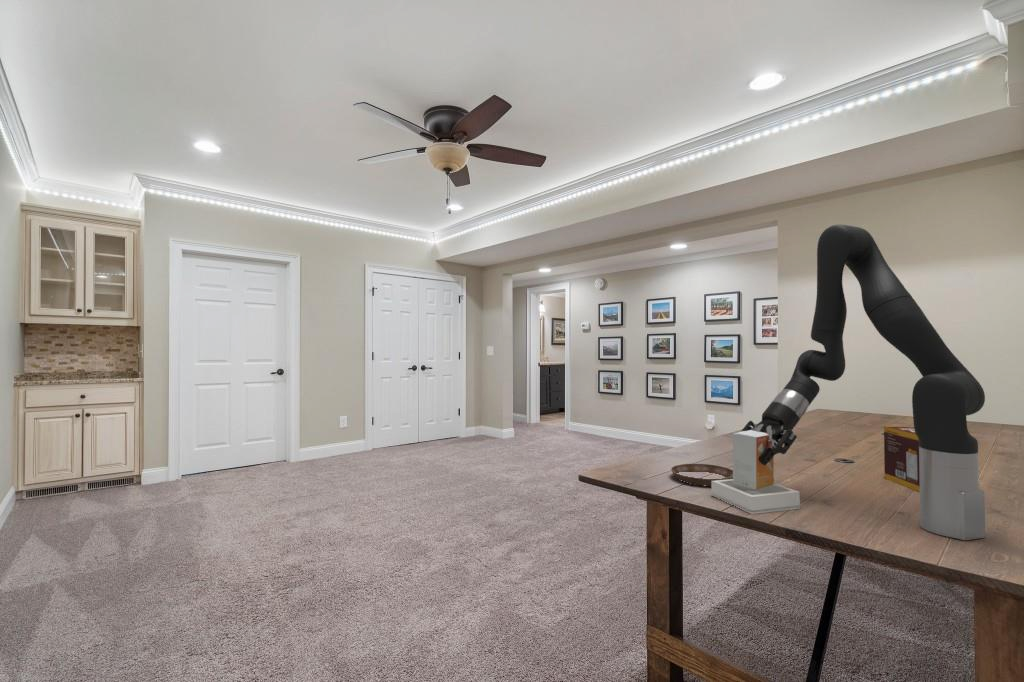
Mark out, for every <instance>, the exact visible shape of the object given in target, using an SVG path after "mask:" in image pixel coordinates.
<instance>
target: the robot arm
mask: <svg viewBox="0 0 1024 682" xmlns="http://www.w3.org/2000/svg"><path fill="white" fill-rule="evenodd" d="M816 256H817V257H816V298H815V299H816V301H815V307H814V315H813V321H812V326H811V330H810V338H811V339H812V340H813V342H815V343H816V342H817V343H819V344H821V345H822V346H823V348H824V351H821V350H815V349H809V350H805V351H803V352H801V354H800V355H799V357H798V358H797V361H796V365H795V367H794V370H793V373H792V375H791V378H790V380H789V381H788V382H787V384H786V385H784V387H783V389H782V390H781V391H780V392H778V394H776V396H775V397H774V399H773V400H772V401H771V402H770V404H769V405H768V406H767V408H766V409H765V410H764V411H763V413H762V414H761V421H759V422H758V423H754V422H753V420H749V421H748V422H747V423H746V424H745V426H744V427H743V428H742V429H741V430H740V432H742V431H748V430H752V431H758V432H764V433H767V434H768V438H767V440H768V448H766V449H765V450H764V452H763V453H762V454H761V456H760V457H759V461H760V462H761V464H763V465H766V464H767V463H769V462H770V460H771V459H772V458H773V456H774V457H775V455H778V454H781V455H785V454H786V453H787V452H788V450H789V449H790V448H791V446H792V445H793V443H794V442H795V440H796V439H797V437H798V436H797V435H796V433H795V432H794V431H793V430H794V428H795V427H796V425H798V423H799V421H800V420H801V419H802V418H803V417H804V415H805V413H807V410H808V408H809V406H810V405H811V403H812V402H813V401H814V400H815V398H816V397H817V396H818V394H819V393H820V390H821V389H820V388H821V387H820V385H819V383H817V381H815V380H814V379H812V378H817V379H821V380H825V381H831V382H834V381H837V380H839V379H840V378H841V377H842V376H843V375H844V374H845V370H846V359H845V358H846V357H845V356H846V355H845V351H844V340H843V339H844V338H843V336H844V331H845V326H846V322H847V321H846V319H847V315H848V314H847V310H848V309H847V308H848V307H847V303H846V297H845V292H844V286H843V275H844V268H845V266H846V267H848V269H849V270H850V271H851V273H852V274H853V276H854V277H855V278H856V280H857V282H858V283H859V286H860V291H861V302H862V307H863V310H864V312H865V314H866V316H867V317H868V319H869V320H870V322H871V324H872V325H873V326H874V328H875V330H876V331H877V333H879V335H880V336H881V337H882V338H883V339H884V340H886V341H887V342H888V343H889V344H890V345H892V346H893V347H894V348H895V349H896V350H898V351H899V352H900V353H901V354H902V355H904V356H905V357H906V358H908V359H909V360H910V362H912V364H914V366H915V367H916V368H917V370H918V371H919V373H920V374H921V376H922V377H921V378H919V379H918V380H917V382H916V383H915V385H914V386H913V389H912V395H911V397H912V398H911V404H912V407H911V408H912V418H913V419H912V420H913V426H914V430H915V433H916V435H917V437H918V439H919V477H920V492H919V518H920V519H919V521H920V522H919V526H920V527H921V529H924V530H925V531H928V532H929V533H933V534H936V535H939V536H944V537H947V538H954V539H958V540H961V541H971V540H977V539H983V538H984V537H985V538H986V500H985V498H986V495H985V491H984V490H983V489H979V488H980V487H979V486H980V483H979V479H980V478H979V477H980V476H979V442H978V439H977V438H976V437H974V436H972V435H971V434H970V432H969V429H968V423H967V416H972V415H973V414H976V413H978V412H979V411H981V409H982V408H983V407H984V406H985V402H986V395H985V391H984V388H983V386H982V384H980V382H979V381H978V379H976V377H975V376H974V375H973V374H972V373H971V372H970V371H969V370H968V368H966V366H965V365H963V363H962V362H961V361H960V360H959V358H958V357H956V356H955V354H954V353H953V352H952V351H951V350H950V348H949V347H948V346H947V344H946V343H945V341H944V340H943V339H942V337H941V335H940V334H939V332H938V331H937V330H936V328H935V327H934V326H933V325H932V323H931V322H930V320H929V318H928V317H927V316H926V314H925V313H924V311H923V309H922V308H921V307H920V305H918V302H917V301H916V300H915V299H914V298H913V296H912V295H911V293H910V292H909V291H908V290H907V289H906V288H905V286H904V284H903V283H902V282H901V280H900V279H899V278H898V277H897V275H896V273H895V272H894V271H893V270H892V269H891V267H890V266H889V265H888V263H887V260H886V259H885V257H884V256H883V254H882V252H881V250H880V248H879V246H878V244H877V243H876V241H875V239H874V237H873V236H872V234H870V232H869V231H868V230H866V229H864V228H863V227H860V226H859V227H858V226H853V225H846V224H833V225H831V226H829V227H827V228H826V229H824V230H823V231H822V233H821V234H820V236H819V239H818V242H817V248H816ZM811 377H812V378H811ZM985 538H984V539H985Z"/></svg>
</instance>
